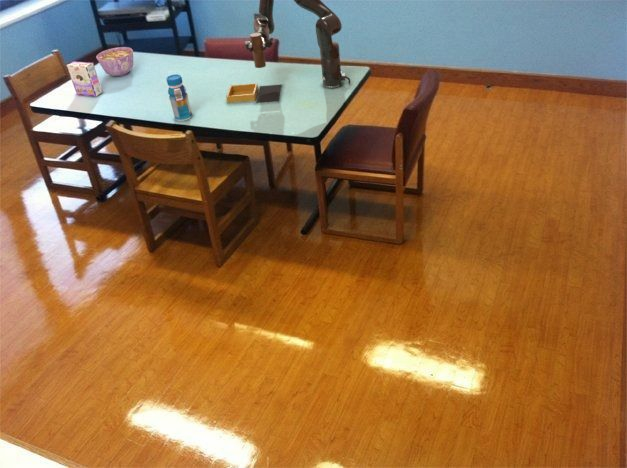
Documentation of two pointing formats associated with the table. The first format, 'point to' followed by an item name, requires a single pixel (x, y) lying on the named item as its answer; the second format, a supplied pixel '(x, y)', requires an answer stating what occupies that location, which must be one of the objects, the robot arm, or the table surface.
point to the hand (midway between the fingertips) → (257, 49)
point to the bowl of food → (116, 60)
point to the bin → (242, 92)
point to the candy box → (84, 78)
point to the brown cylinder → (257, 50)
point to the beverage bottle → (178, 98)
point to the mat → (269, 93)
